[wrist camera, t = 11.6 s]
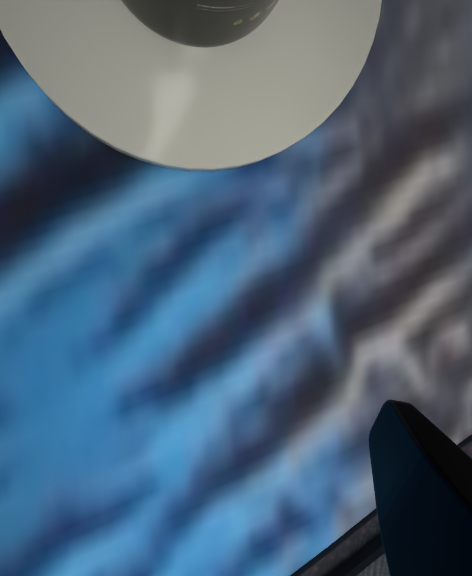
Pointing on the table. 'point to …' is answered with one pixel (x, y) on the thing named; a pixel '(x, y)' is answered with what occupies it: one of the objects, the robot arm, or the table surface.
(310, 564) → the dark grey flat block
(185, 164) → the saucer
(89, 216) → the table surface
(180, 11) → the supplement bottle
